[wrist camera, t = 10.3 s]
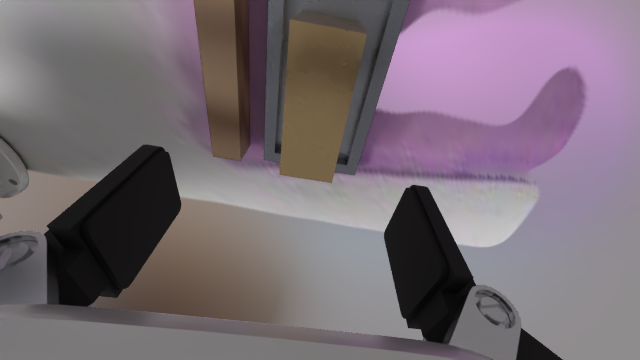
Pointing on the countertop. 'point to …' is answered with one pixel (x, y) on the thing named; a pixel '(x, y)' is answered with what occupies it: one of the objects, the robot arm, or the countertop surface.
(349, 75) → the bar
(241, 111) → the door edge strip
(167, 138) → the countertop surface
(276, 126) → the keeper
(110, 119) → the countertop surface
